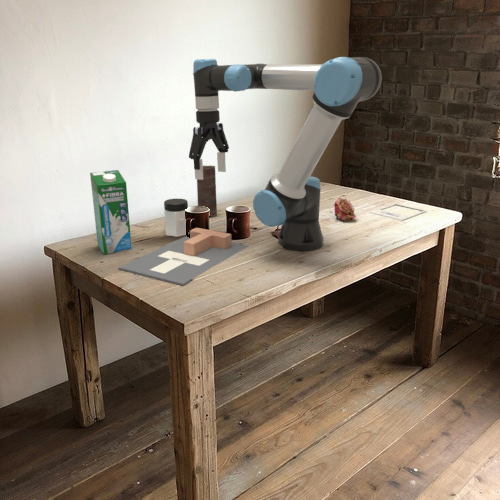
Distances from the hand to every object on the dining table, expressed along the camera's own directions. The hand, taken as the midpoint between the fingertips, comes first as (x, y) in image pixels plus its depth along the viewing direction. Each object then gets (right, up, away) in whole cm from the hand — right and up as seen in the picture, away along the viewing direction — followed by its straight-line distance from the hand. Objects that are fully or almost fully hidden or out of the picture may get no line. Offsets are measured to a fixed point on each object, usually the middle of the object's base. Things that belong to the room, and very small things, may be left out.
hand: (210, 175), depth 181 cm
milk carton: (-32, -24, -2) cm, 40 cm away
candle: (-4, -12, +32) cm, 34 cm away
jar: (-13, -19, +12) cm, 26 cm away
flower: (+49, -13, +27) cm, 58 cm away
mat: (-7, -27, -10) cm, 30 cm away
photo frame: (+73, -10, +36) cm, 82 cm away
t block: (-3, -24, -4) cm, 25 cm away
